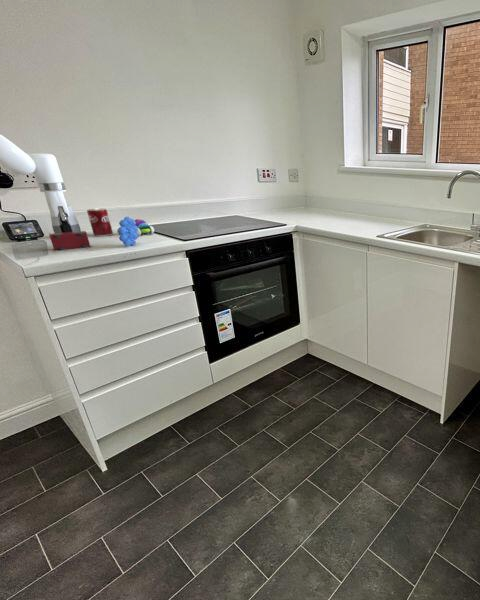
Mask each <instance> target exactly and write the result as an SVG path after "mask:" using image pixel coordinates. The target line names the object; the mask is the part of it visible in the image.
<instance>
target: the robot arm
mask: <svg viewBox="0 0 480 600" xmlns="http://www.w3.org/2000/svg"><path fill="white" fill-rule="evenodd" d="M0 167H1V168H2V169H3V170H4V171H6V172H8V173H11V174H15V175H21V176H29V175H31V174H34V178H35V181H36V184H37V186H38V189H39V191H40V193H44V197H45V200H46V203H47V206H48V209H49V214H50V213H51V215H50V217H51V216H52V217H53V218H56V217H57V218H58V221H59V224H60V225H59V226H60V229H61V232H62V233H64V232H73V231H72V228H71V225H70V224H69V221H68V217H69V216H70V215H69V211H68V207H67V205H68V204H67V201H66V198H65V194H64V192H67V189H66V185H65V183H64V179H63V176H62V172H61V170H60V166H59V163H58V160H57V158H56V155H54V154H52V153H39V152H38V153H37V152H35V153H34V152H33V153H26V152H25V151H24V150H22V148H20V147H18V146H17V145H16V144H15V143H14V142H13V141H11V140H9V139H8V138H7V137H5V136H4V135H2V134H1V133H0Z"/></svg>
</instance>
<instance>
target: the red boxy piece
mask: <svg viewBox="0 0 480 600" xmlns="http://www.w3.org/2000/svg"><path fill="white" fill-rule="evenodd" d="M48 236H49V240H50V241H51V245H52V248H53V250H54V251H64V250H69V249H85V248H90V247H91V244H90V241H89V236H88V232H87V231H86V230H81V231H79V232H64V233H54V232H53V233H48Z"/></svg>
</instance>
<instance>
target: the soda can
mask: <svg viewBox="0 0 480 600" xmlns="http://www.w3.org/2000/svg"><path fill="white" fill-rule="evenodd" d="M86 213H87V216H88V220H89V223H90V227H91V230H92V234H93V236H95V237H108V236H112V235H113V233H114V232H113V228H112V224H111V221H110V217H109V212H108V209H106V208H88V209H87V210H86Z"/></svg>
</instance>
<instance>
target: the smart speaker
mask: <svg viewBox="0 0 480 600" xmlns="http://www.w3.org/2000/svg"><path fill="white" fill-rule="evenodd" d="M67 207H68V211H69V215H70V216H69V217H68V221H69V224H70V225H71V228H72V231H73V232H79V231H82V230H81V226H80V224H79V221H78V219H77V216H76V215H75V212H74V210H73V208H72V205H71V204H67ZM49 214H50V221H51V226H52V230H53V233H62V232H61V229H60V226H59V225H60V224H59V221H58V218H57V217H56V218H53V217H52V216H51V213H50V212H49Z"/></svg>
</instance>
